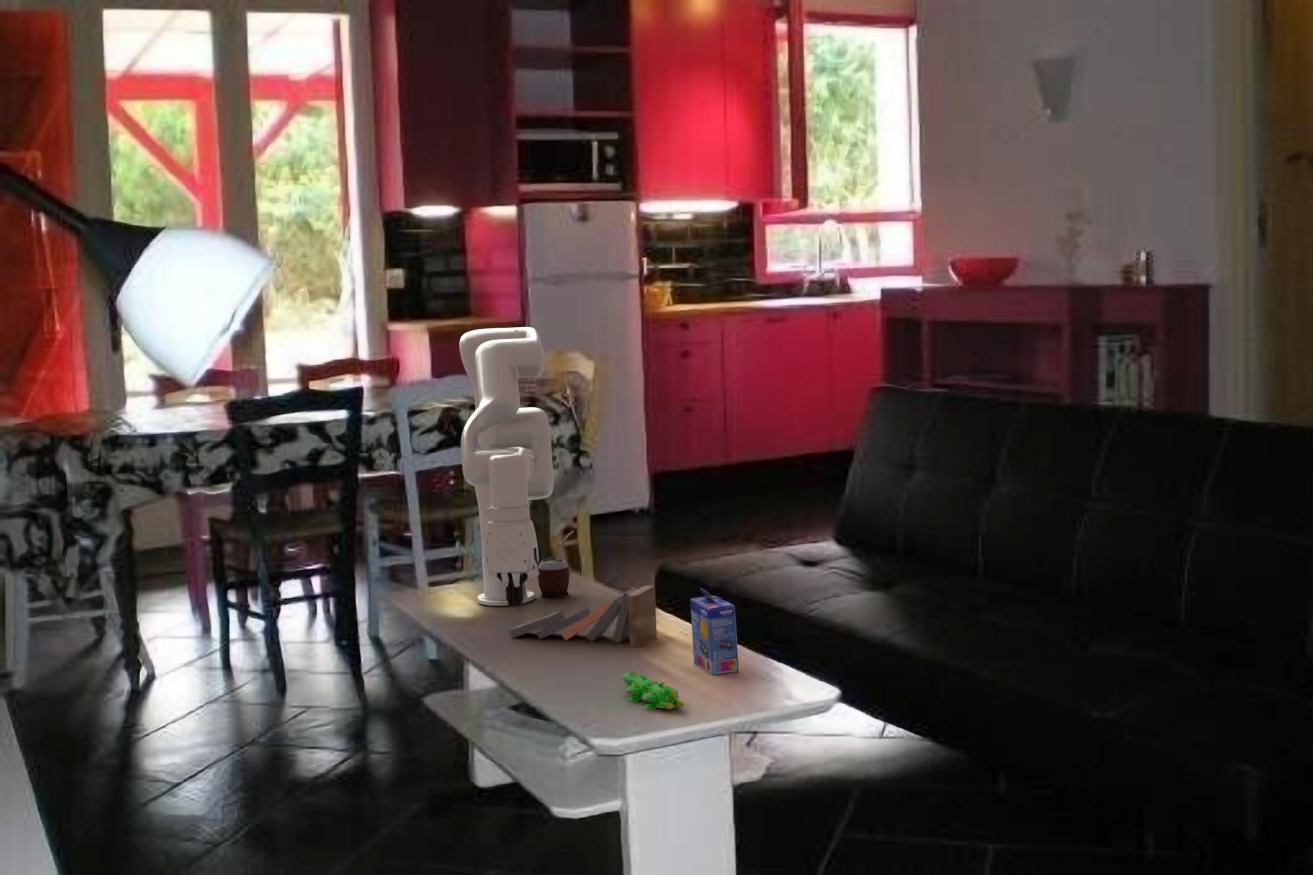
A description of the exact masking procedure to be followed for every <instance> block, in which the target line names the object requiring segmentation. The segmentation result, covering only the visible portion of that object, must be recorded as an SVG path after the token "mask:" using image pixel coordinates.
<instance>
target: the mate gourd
mask: <svg viewBox="0 0 1313 875" xmlns="http://www.w3.org/2000/svg"><path fill="white" fill-rule="evenodd" d="M574 532H575V530H574V529H573V530H572V531H570V532H569V533H568V534H566V535H565V537H564V538H562V541H561V543H560V544H561V546H560V549H559V552H558V557H557V558H546V559H542V560H540V562H539V565H538V567H537V568H538V571H539V575H538V576H537V580H538V587H539V590H540V593H541V594H540V598H541V599H542V598H551V597H553V598H555V599H556V600H557V599H560V596H569V591H568V589H569V585H570V569H569V565H568V563H567V561H566V560H565V559H563V558H561V556H562V552H563V549H564V547H565V544H566V542H567V539H568V538H569V537H570V536H571V535H572V534H573V533H574Z"/></svg>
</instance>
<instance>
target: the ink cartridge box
mask: <svg viewBox="0 0 1313 875" xmlns="http://www.w3.org/2000/svg"><path fill="white" fill-rule="evenodd" d="M699 589H700V592H701V593H702V594H703V596H698V597H692V598H689V602H690V603H689V604H690V616H691V617H690V618H691V635H692V650H693V651H692V652H693V654H692V655H693V663H694V664H695V665H697V666H698V667H699V668H701V669H703V670H704V671H706V672H707V673H708V674H709V675H711V676H716V675H722V674H730V673H731V674H733V673H738V672H739V671H740V665H739V664H740V661H739V652H738V650H739V648H738V639H737V638H738V636H737V624H736V623H737V621H736V620H737V619H736V608H735V605H734V604H733V603H731V602H730V601H727V600H724V599H723V598H722V597H719V596H717V595H711V594H710V593H709V591H707V590H705V589H703V588H699Z"/></svg>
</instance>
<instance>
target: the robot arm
mask: <svg viewBox="0 0 1313 875" xmlns="http://www.w3.org/2000/svg"><path fill="white" fill-rule="evenodd" d="M459 353H460V358H461V362H462V364H463V368H464V370H465V372H466V375H467V376H468V378H469V381H470V383H471V386H472V389H473V394H474V406H475V407H474V409H475V411H474V412H473V413H472V414H471V415H470V417H469V418H468V419H467V421H466V423H465V425H464V427H463V429H462V433H461V438H460V450H461V465H462V474H463V477H464V480H465V481H466V482H467V484H468V485H470V486H474V491H475V495H476V500H477V505H478V506H477V507H478V513H479V514H478V516H479V528H480V546H481V561H482V563H481V564H482V580H483V593H480V594H478V596H477V598H476V599H477V600H476V601H477V603H479V604H480V605H485V606H494V607H503V606H508V607H509V608H510V607H514V608H517V607H519V606H521V605H522V604H526V603H529V602H531V601H533V600H534V599H535V592H533V591H531V590H528V585H527V584H528V583H527V581H528V580H529V579H533V578H536V577H538V575H539V571H538V566H539V564H540V557H539V547H538V546H539V545H538V539H537V533H536V529H535V526H534V522H533V520H531V519H530V504H529V501H531V500H532V501H533V500H534V501H535V500H543V499H547V498H549V497H550V496H551V495H552V493H553V491H554V487H555V486H554V485H555V481H554V480H555V478H554V477H555V476H554V465H553V462H554V461H553V452H552V451H553V450H552V440H551V439H552V438H551V430H550V429H551V428H550V422H549V418H548V416H547V413H546V412H545V410H543V409H542V408H540V407H535V406H533V407H531V406H529V407H521V398H520V390H519V389H520V388H519V380H518V379H532V378H539V377H541V376H542V375H543V373H544V371H545V366H546V356H545V350H544V345H543V342H542V340H541V336H540V333H539V332H538V330H537V329H535V328H534V327H530V326H523V327H522V326H520V327H494V328H493V327H492V328H481V329H480V328H479V329H473V330H470V331H467V332H465V333H464V334H462V336H461V337H460V340H459ZM476 439H477V442H478V445H479V447H480V448H475V443H476V442H475V441H476Z"/></svg>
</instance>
